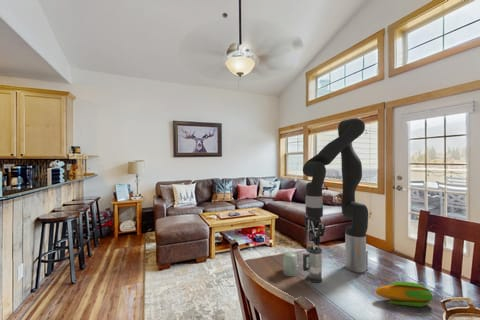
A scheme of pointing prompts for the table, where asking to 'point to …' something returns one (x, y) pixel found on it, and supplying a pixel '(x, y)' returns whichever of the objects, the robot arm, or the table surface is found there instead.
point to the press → (313, 264)
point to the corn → (406, 294)
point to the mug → (290, 263)
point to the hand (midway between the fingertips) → (314, 242)
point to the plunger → (312, 239)
